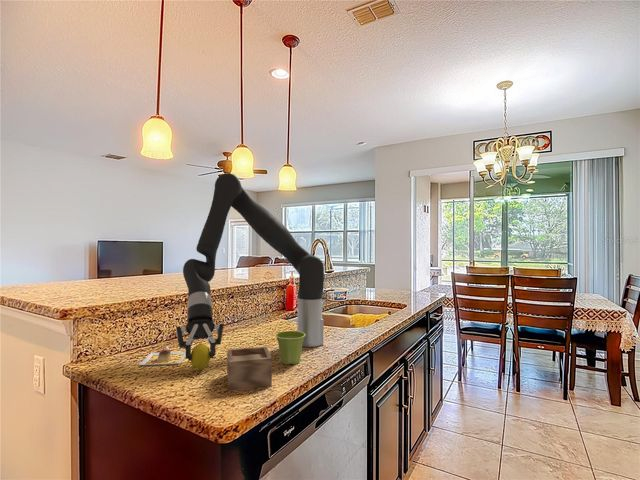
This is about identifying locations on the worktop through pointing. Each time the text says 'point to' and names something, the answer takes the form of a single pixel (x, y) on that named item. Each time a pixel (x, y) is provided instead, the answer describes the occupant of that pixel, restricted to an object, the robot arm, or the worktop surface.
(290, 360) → the plant pot
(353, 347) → the worktop surface
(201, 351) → the lemon
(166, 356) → the white square frame
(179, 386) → the worktop surface
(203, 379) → the worktop surface
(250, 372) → the wooden box
